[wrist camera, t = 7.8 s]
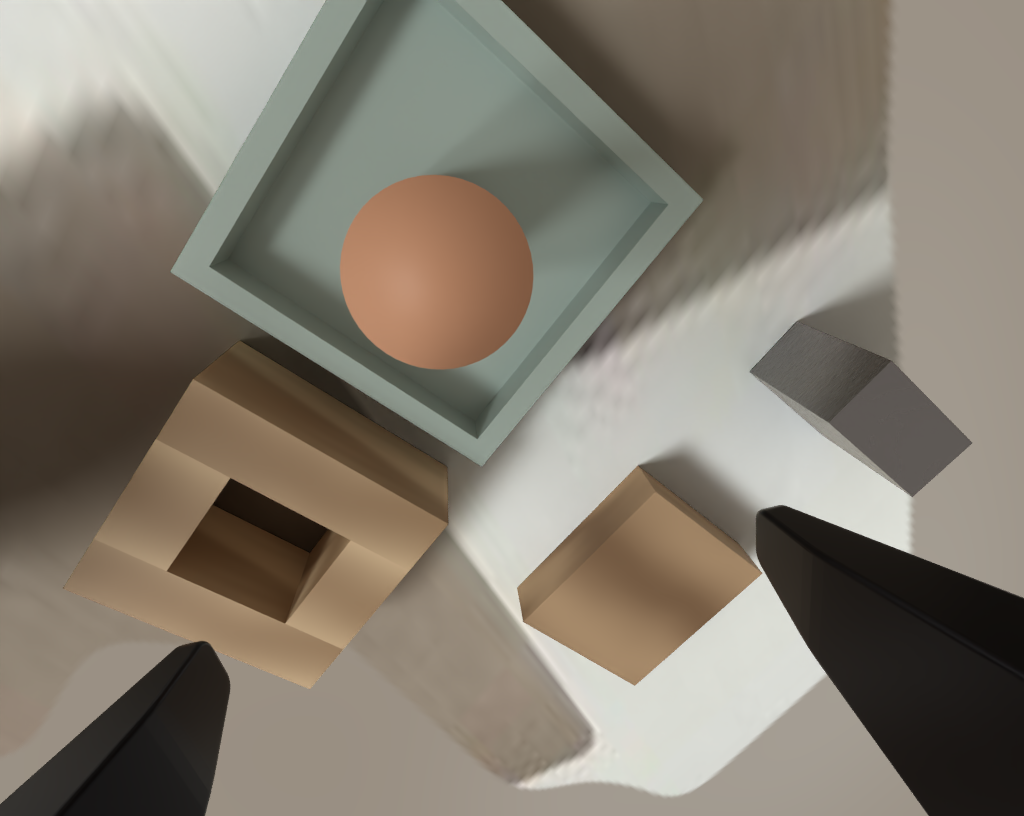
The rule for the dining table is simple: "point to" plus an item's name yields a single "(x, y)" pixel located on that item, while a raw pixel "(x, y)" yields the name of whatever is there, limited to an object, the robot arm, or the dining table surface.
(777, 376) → the grey rectangular block
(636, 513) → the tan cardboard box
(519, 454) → the dining table surface
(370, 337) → the dowel
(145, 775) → the robot arm
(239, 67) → the dining table surface
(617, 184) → the tray
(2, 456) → the dining table surface
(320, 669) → the socket block
